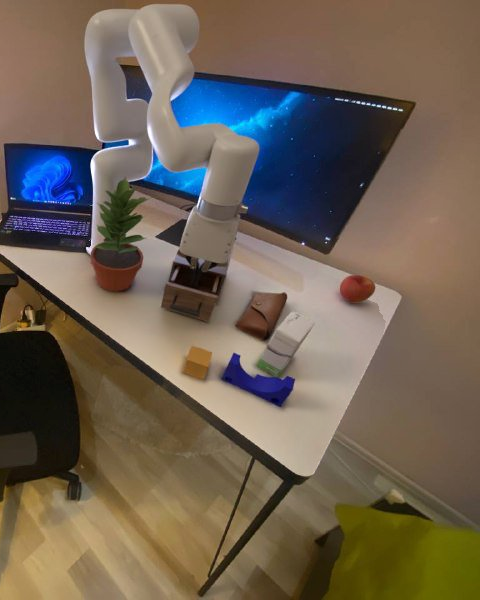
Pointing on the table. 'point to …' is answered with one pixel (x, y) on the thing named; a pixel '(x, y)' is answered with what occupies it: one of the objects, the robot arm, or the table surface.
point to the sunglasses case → (262, 314)
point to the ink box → (285, 343)
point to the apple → (356, 288)
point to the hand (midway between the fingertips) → (194, 281)
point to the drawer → (191, 294)
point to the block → (197, 362)
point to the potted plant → (118, 241)
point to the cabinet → (183, 262)
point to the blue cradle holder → (258, 382)
